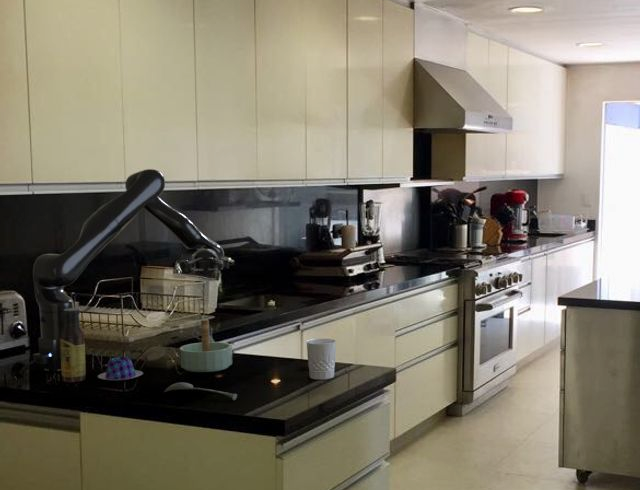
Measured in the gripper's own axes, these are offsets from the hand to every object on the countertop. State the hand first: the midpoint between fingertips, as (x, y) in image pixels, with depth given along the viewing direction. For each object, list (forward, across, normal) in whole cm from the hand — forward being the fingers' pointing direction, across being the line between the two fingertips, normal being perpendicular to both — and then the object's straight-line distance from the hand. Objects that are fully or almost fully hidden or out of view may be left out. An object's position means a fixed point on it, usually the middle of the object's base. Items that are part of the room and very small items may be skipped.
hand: (204, 266), depth 276 cm
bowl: (+11, 0, +28) cm, 30 cm away
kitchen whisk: (-21, 0, +28) cm, 35 cm away
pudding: (+19, -23, +28) cm, 41 cm away
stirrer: (+11, 0, +27) cm, 29 cm away
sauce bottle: (+20, -35, +28) cm, 49 cm away
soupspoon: (+45, 0, +28) cm, 53 cm away
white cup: (+31, +32, +28) cm, 53 cm away
